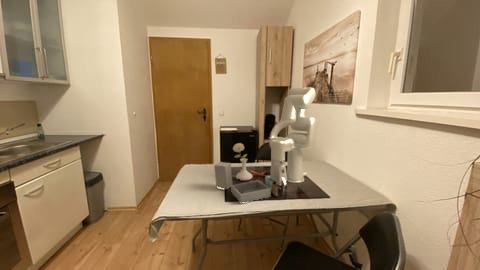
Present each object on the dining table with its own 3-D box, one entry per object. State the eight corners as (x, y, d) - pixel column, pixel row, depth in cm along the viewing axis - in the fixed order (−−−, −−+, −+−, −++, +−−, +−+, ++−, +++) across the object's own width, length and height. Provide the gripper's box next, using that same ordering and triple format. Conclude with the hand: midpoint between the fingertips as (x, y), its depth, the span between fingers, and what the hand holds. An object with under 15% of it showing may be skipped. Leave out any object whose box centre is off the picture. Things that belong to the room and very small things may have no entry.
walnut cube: (278, 191, 124) (279, 183, 123) (284, 194, 119) (284, 186, 118) (271, 192, 122) (271, 184, 121) (276, 196, 117) (276, 187, 116)
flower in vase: (252, 176, 149) (252, 141, 145) (252, 182, 138) (251, 144, 134) (234, 175, 151) (233, 141, 147) (232, 181, 139) (231, 144, 135)
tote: (258, 187, 129) (258, 180, 128) (270, 197, 116) (270, 188, 115) (230, 193, 122) (230, 185, 121) (240, 204, 109) (240, 195, 108)
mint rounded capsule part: (270, 185, 132) (270, 175, 131) (275, 188, 127) (275, 177, 126) (263, 187, 130) (263, 176, 129) (267, 190, 125) (267, 179, 124)
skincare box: (233, 187, 130) (232, 162, 128) (226, 192, 124) (225, 166, 122) (221, 185, 135) (220, 161, 132) (215, 189, 129) (213, 164, 126)
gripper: (293, 165, 111) (292, 197, 114) (275, 157, 127) (275, 186, 130) (281, 167, 108) (280, 200, 111) (264, 159, 124) (264, 188, 127)
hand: (277, 192), depth 120 cm, fingers closed on walnut cube, 5 cm apart
